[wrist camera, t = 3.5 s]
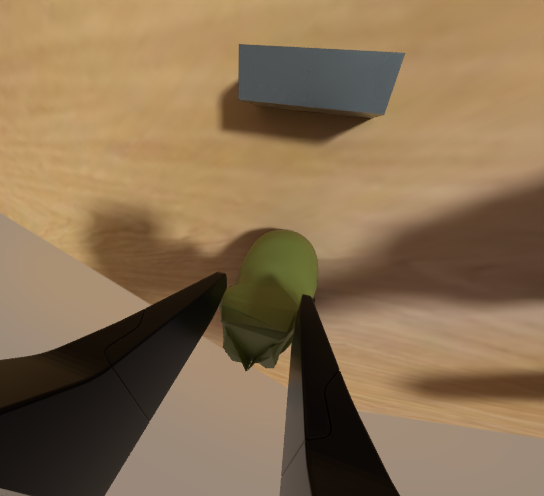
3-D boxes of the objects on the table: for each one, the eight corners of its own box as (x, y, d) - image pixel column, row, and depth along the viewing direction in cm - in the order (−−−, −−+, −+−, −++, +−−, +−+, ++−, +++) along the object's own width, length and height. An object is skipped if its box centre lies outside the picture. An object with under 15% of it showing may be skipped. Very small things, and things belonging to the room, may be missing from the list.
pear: (257, 264, 19) (199, 369, 11) (259, 214, 16) (181, 302, 8) (314, 277, 18) (299, 403, 10) (327, 225, 15) (320, 341, 7)
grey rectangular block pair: (386, 72, 10) (405, 53, 8) (310, 312, 20) (307, 337, 18) (259, 63, 11) (239, 44, 9) (247, 294, 21) (237, 316, 19)
